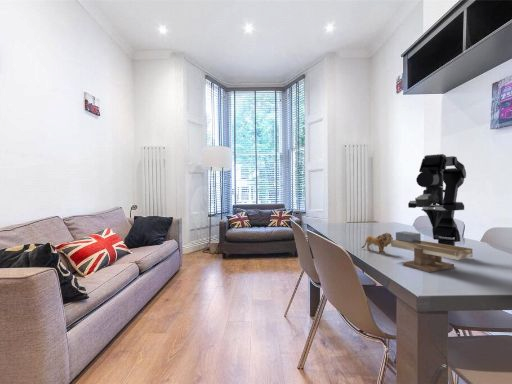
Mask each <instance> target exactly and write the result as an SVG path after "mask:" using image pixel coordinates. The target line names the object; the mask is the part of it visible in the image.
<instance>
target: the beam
mask: <svg viewBox="0 0 512 384" xmlns="http://www.w3.org/2000/svg"><path fill="white" fill-rule="evenodd" d="M390 246H391V247H392V248H396V249H402V250H405V251H412V252H414V248H421V249H423V253H426V254H431V255H436V256H441V257H442V258H447V259H452V260H457V261H458V260H459V261H460V260H463V259H468V258H473V256H474V255H473V252H474V251H473V250H474V249H473V248H469V247H464V246H456V245H455V246H452V245H446V244H440V243H438V242H433V241H427V240H421V244H416V243H410V242H404V241H398V240H396V239H393V240H391V243H390Z"/></svg>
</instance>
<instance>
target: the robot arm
mask: <svg viewBox="0 0 512 384" xmlns="http://www.w3.org/2000/svg"><path fill="white" fill-rule="evenodd" d="M447 167H451V168H447ZM452 167H453V168H452ZM466 171H467V170H466V168H465V165H464V164H463V163H462V162H460V161H459V160H458V158H457V156H452V155H451V156H446V155H445V154H444V153H441V154H440V153H438V154H426V155H424V156H423V158H422V160H421V163H420V167H419V171H418V172H419V174H418V175H417V176H416V184H417V185H418V186H419V187H421V188H425V189H424V190H423V191H422V194H420V195H418V196H417V197H415V200H409V202H408V205H407V206H408V208H412V209H415V208H422V209H421V211H423V212H424V213H426V215H427V217H428V220H429V221H430V224H431V227H432V229H431V230H432V237H433V240H434V241H435V240H437V243H440V244H446V245H452V246H456V243H457V242H458V243H459V242H461V234H460V231H459V228H458V224H457V222H456V221H455V220H454V217H455V211H465V204H464V203H463V202H462V201H457V198H458V191H459V188H460V187H461V186H462V185H463V184H464V181H465V179H466V178H467V172H466ZM444 184H445V188H444Z"/></svg>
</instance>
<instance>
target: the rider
mask: <svg viewBox="0 0 512 384" xmlns="http://www.w3.org/2000/svg"><path fill="white" fill-rule="evenodd" d="M395 240H398V241H404V242H410V243H416V244H421V241H422V240H421V233H418V232H411V231H397V232H395Z"/></svg>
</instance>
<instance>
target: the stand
mask: <svg viewBox="0 0 512 384" xmlns="http://www.w3.org/2000/svg"><path fill="white" fill-rule="evenodd" d="M413 252H414V253H413V254H414V255H413V260H410V261H409V260H408V261H404V262H402V266H404V267H408V268H412V269H416V270H420V271H423V272H427V273H431V272H436V271H437V272H438V271H440V270H441V271H442V270H445V269H452V268H455V264H454V263H450V262H446V261H442V259H443V257H441V256H436V255H431V254H426V253H423V249H421V248H414V251H413Z"/></svg>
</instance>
